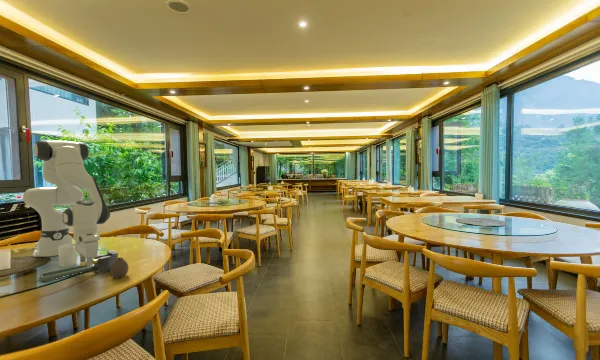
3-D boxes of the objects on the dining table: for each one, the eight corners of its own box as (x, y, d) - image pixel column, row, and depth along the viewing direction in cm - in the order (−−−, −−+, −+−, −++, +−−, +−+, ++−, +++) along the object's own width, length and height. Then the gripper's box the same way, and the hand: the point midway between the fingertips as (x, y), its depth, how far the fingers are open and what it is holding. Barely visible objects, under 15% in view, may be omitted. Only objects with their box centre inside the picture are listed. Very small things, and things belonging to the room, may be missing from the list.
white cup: (66, 268, 131) (66, 248, 131) (53, 266, 133) (53, 247, 133) (82, 262, 139) (82, 244, 139) (70, 261, 141) (70, 243, 140)
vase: (131, 275, 125) (131, 256, 125) (117, 280, 118) (117, 261, 118) (121, 272, 127) (121, 255, 127) (106, 278, 120) (106, 259, 120)
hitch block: (93, 269, 130) (93, 253, 130) (112, 265, 136) (112, 250, 136) (98, 273, 126) (98, 256, 125) (117, 268, 132) (117, 252, 132)
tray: (39, 278, 119) (39, 273, 119) (89, 267, 133) (89, 263, 133) (42, 282, 115) (42, 277, 115) (93, 270, 129) (93, 266, 129)
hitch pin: (81, 267, 122) (80, 262, 122) (79, 266, 123) (79, 262, 124) (115, 259, 133) (115, 255, 134) (114, 259, 135) (114, 255, 135)
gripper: (71, 232, 128) (71, 260, 128) (83, 239, 115) (83, 270, 116) (87, 230, 133) (87, 257, 133) (100, 237, 120) (101, 266, 121)
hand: (85, 263), depth 124 cm, fingers open, 8 cm apart
